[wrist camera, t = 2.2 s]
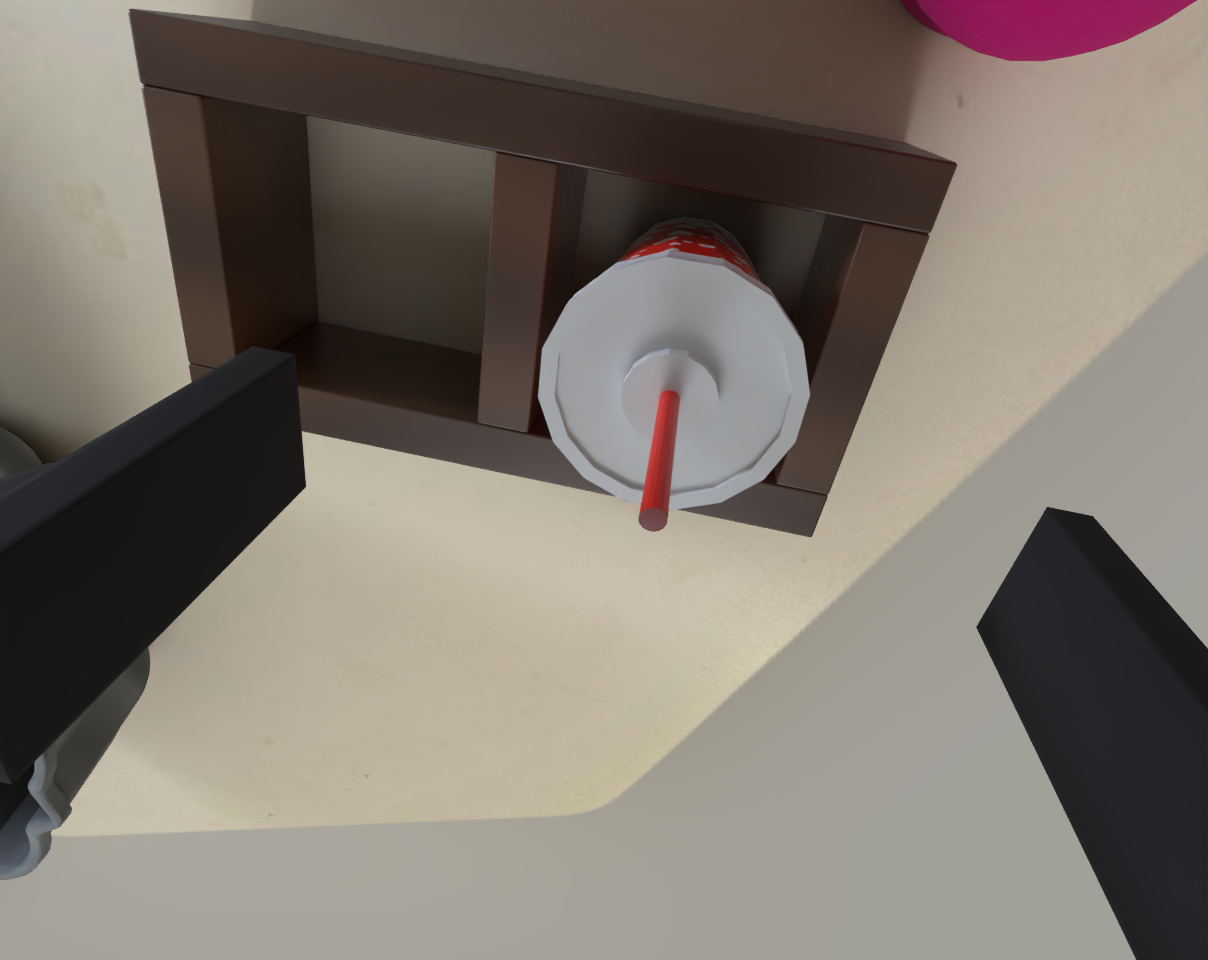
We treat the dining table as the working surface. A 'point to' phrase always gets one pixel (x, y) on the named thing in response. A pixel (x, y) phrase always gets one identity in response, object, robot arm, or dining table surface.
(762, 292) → the beverage cup
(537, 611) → the dining table surface
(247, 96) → the holder
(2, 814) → the bundt pan
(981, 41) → the pepper mill
